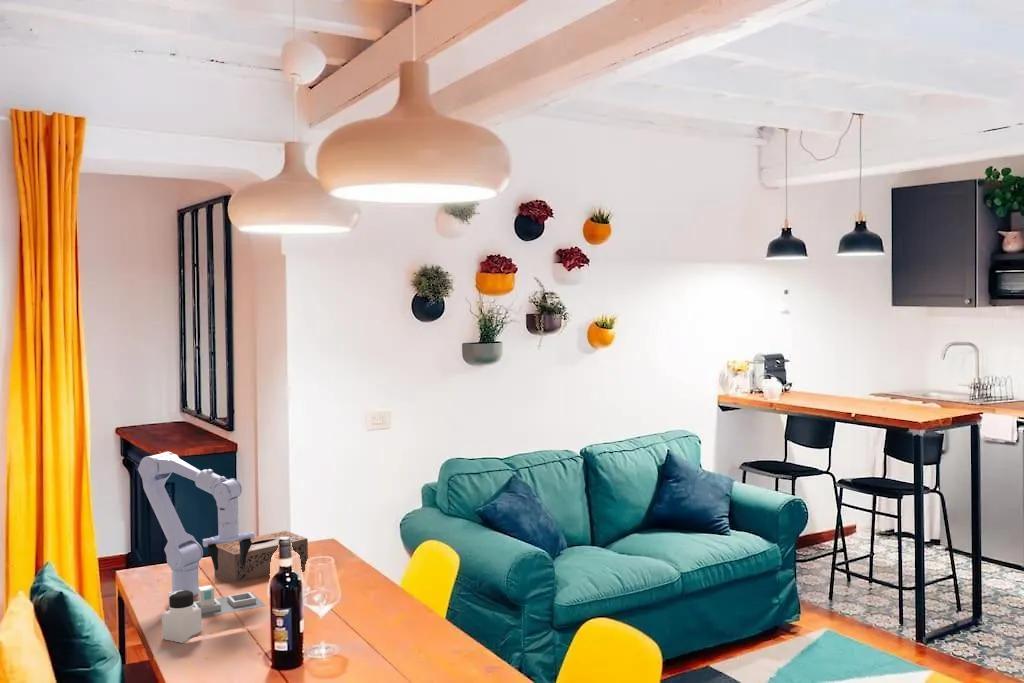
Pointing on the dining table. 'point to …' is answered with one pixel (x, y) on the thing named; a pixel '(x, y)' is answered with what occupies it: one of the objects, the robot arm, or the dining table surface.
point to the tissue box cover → (256, 556)
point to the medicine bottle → (181, 617)
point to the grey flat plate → (230, 604)
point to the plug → (205, 596)
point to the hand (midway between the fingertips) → (229, 567)
